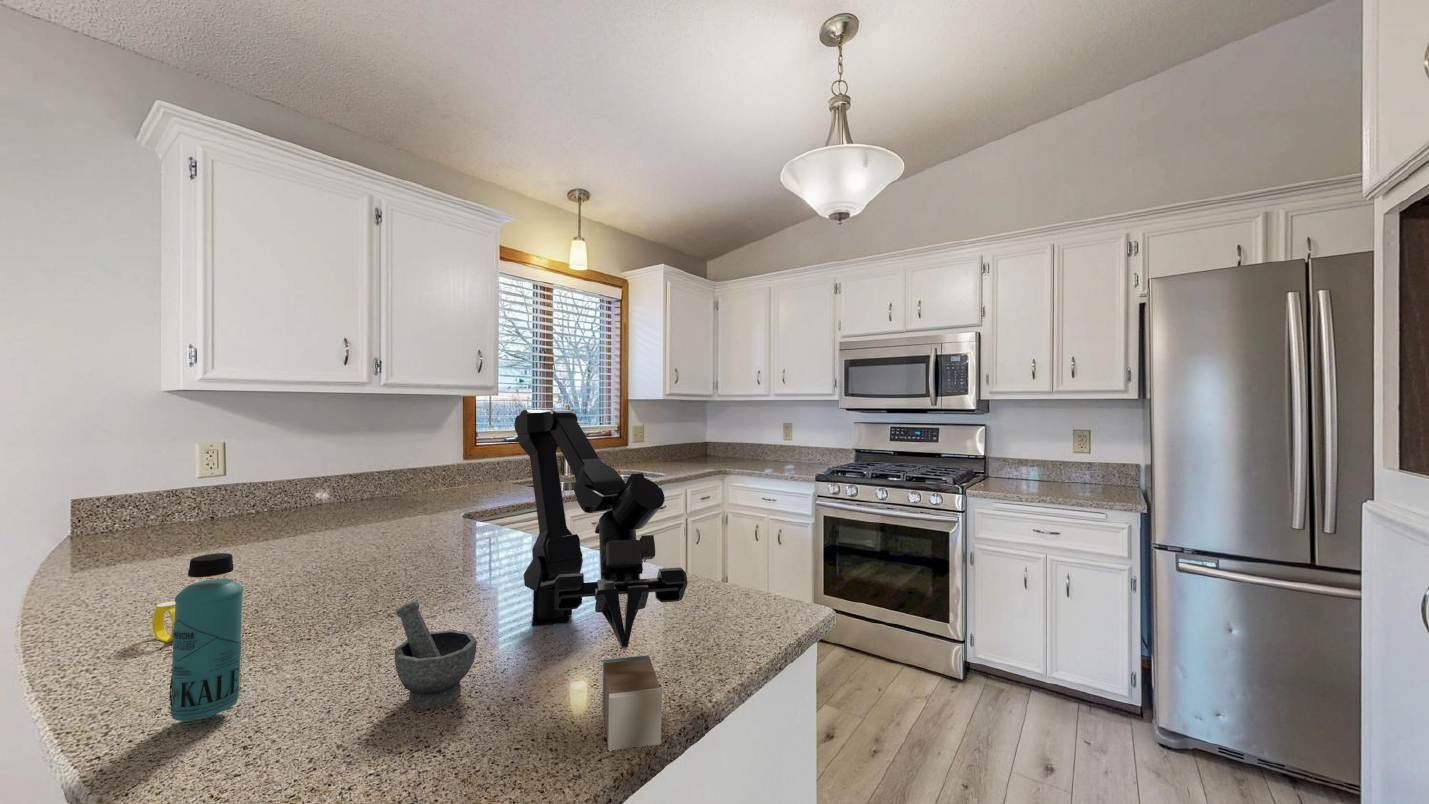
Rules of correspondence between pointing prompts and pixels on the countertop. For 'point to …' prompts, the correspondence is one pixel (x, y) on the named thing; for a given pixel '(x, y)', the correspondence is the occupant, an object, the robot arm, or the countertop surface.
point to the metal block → (631, 703)
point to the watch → (159, 621)
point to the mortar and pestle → (432, 660)
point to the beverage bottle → (206, 641)
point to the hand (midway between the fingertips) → (624, 646)
